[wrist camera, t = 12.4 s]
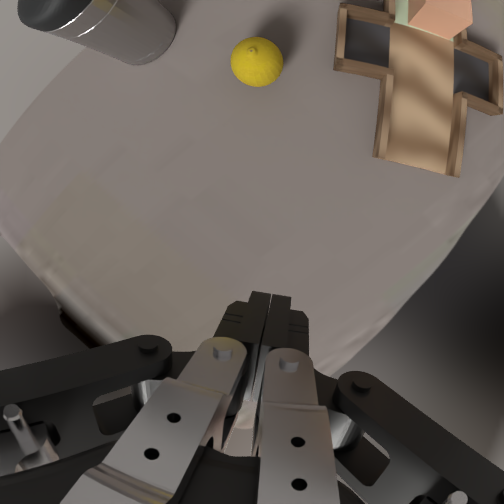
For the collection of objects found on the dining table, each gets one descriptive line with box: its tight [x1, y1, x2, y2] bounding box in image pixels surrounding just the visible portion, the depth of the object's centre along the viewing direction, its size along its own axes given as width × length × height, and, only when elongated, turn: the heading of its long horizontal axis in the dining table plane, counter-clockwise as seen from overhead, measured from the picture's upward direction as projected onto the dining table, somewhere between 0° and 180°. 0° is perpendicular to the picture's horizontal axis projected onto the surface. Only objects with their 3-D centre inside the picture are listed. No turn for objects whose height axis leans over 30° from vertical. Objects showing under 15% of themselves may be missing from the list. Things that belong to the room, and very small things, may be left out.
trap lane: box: [333, 0, 503, 178], centre depth 28 cm, size 29×22×3 cm
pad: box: [394, 0, 453, 41], centre depth 26 cm, size 10×9×1 cm
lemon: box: [231, 37, 283, 87], centre depth 30 cm, size 6×6×8 cm
